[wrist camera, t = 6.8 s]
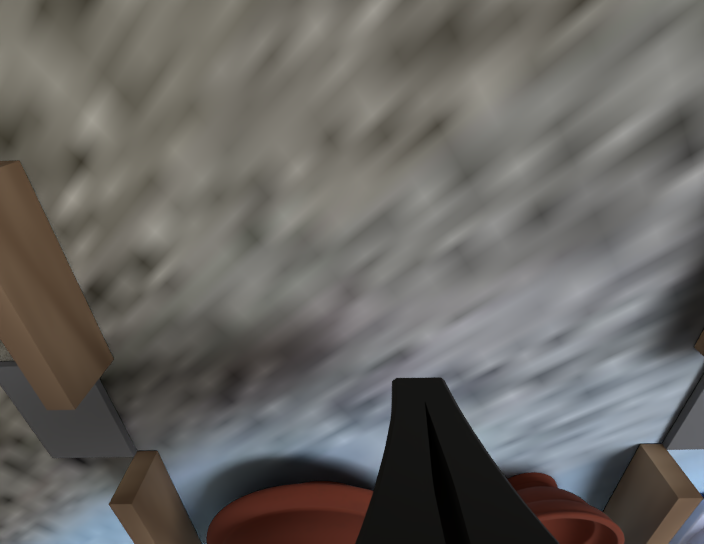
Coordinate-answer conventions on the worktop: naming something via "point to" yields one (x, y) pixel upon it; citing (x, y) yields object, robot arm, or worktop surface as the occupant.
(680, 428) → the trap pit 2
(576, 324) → the worktop surface
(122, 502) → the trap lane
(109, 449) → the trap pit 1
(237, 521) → the pottery
